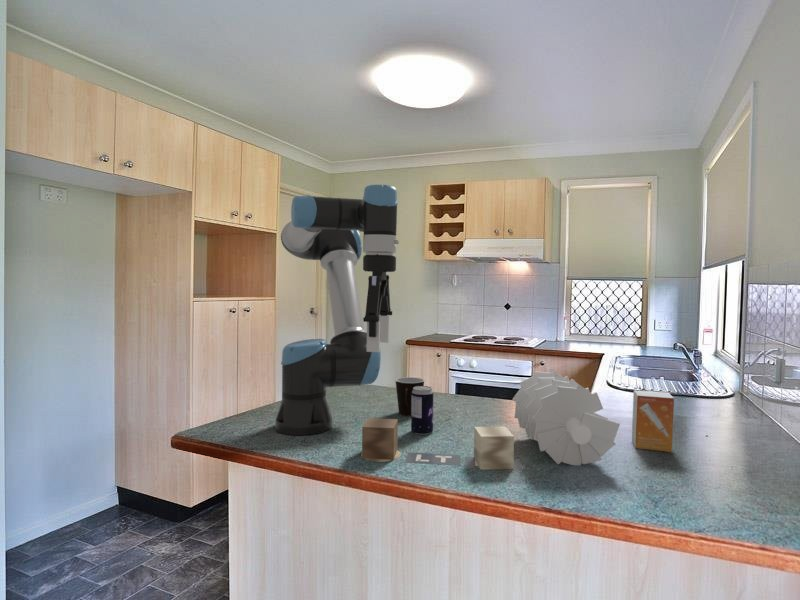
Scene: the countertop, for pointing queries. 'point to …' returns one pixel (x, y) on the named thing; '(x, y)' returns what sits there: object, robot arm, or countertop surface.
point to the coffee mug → (406, 393)
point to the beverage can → (422, 410)
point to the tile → (433, 458)
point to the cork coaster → (384, 459)
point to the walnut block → (380, 438)
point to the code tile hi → (472, 463)
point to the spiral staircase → (564, 418)
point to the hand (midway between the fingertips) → (378, 346)
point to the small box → (652, 420)
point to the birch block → (493, 448)
